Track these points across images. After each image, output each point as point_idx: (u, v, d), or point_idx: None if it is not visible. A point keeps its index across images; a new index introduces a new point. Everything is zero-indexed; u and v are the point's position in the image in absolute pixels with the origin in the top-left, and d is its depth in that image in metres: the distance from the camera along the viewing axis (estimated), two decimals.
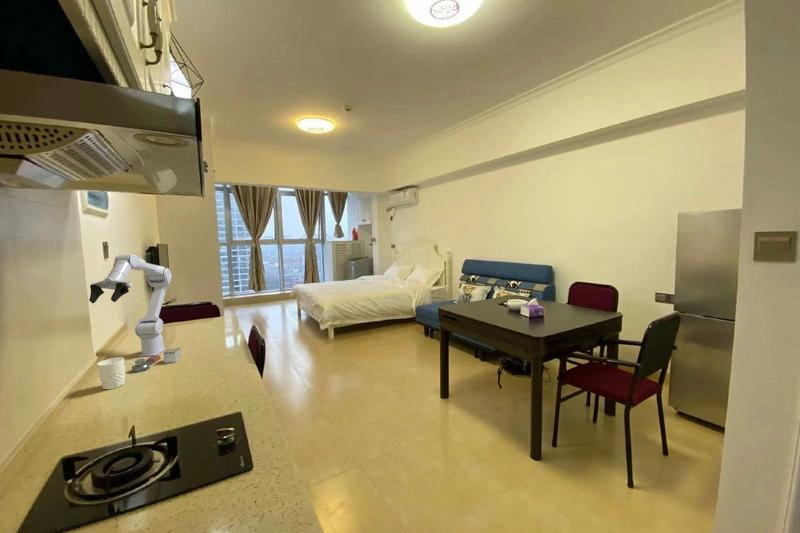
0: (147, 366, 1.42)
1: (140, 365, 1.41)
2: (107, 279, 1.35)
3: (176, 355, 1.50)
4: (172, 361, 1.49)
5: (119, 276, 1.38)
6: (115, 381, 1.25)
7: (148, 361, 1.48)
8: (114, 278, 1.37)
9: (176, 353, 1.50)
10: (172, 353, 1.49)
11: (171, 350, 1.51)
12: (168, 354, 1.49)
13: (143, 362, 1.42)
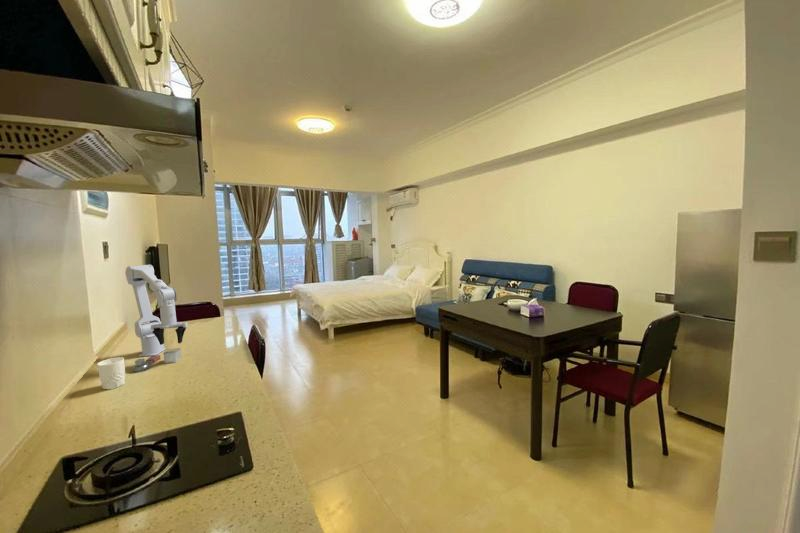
0: (147, 366, 1.42)
1: (140, 365, 1.41)
2: (165, 327, 1.46)
3: (176, 355, 1.50)
4: (172, 361, 1.49)
5: (172, 319, 1.48)
6: (115, 381, 1.25)
7: (148, 361, 1.48)
8: (169, 323, 1.48)
9: (176, 353, 1.50)
10: (172, 353, 1.49)
11: (171, 350, 1.51)
12: (168, 354, 1.49)
13: (143, 362, 1.42)
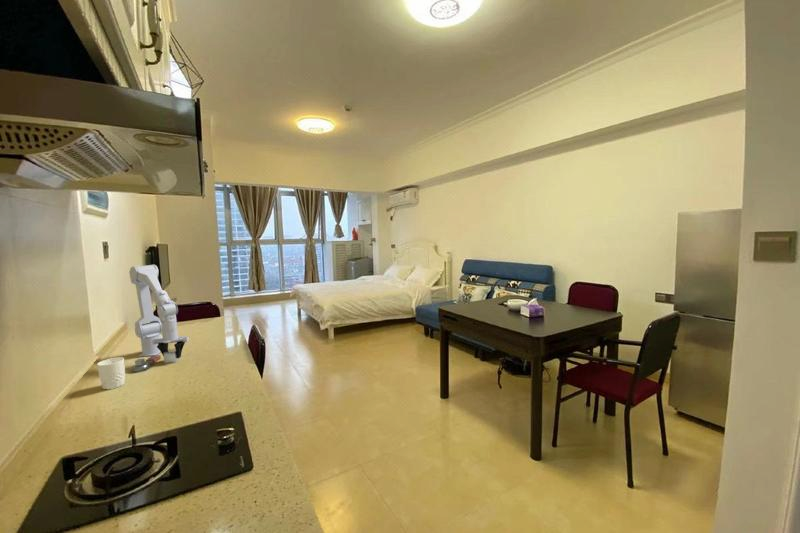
0: (147, 366, 1.42)
1: (140, 365, 1.41)
2: (166, 342, 1.47)
3: (176, 355, 1.50)
4: (172, 361, 1.49)
5: (173, 334, 1.49)
6: (115, 381, 1.25)
7: (148, 361, 1.48)
8: (171, 338, 1.48)
9: None
10: (172, 353, 1.49)
11: (171, 350, 1.51)
12: (168, 354, 1.49)
13: (143, 362, 1.42)
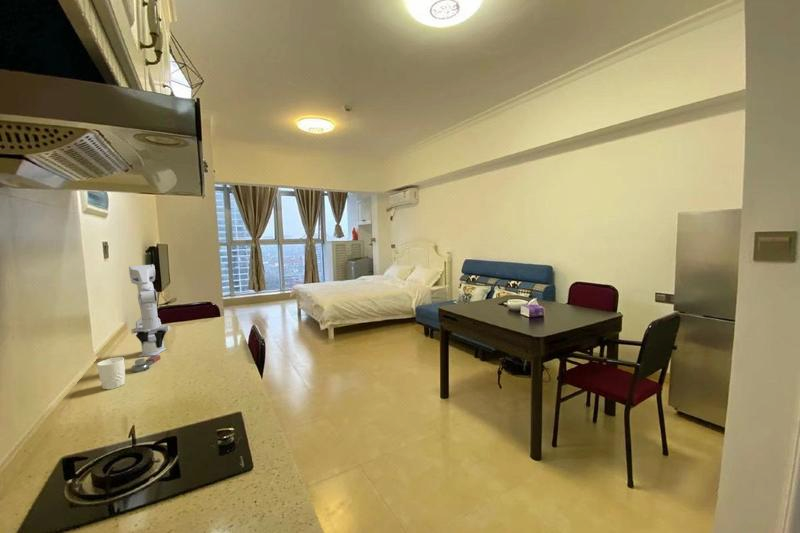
0: (147, 366, 1.42)
1: (140, 365, 1.41)
2: None
3: (156, 345, 1.44)
4: (152, 351, 1.43)
5: (153, 322, 1.43)
6: (115, 381, 1.25)
7: (148, 361, 1.48)
8: (151, 327, 1.42)
9: (156, 342, 1.44)
10: (152, 342, 1.43)
11: (151, 340, 1.44)
12: (148, 343, 1.43)
13: (143, 362, 1.42)
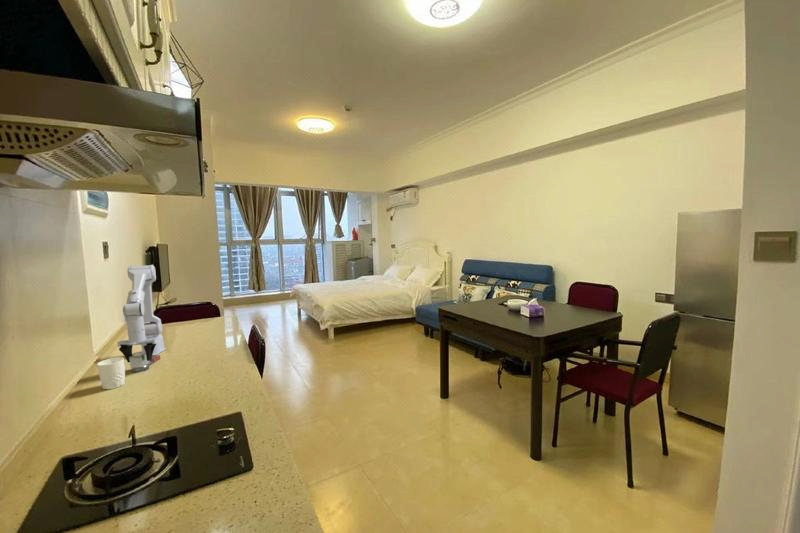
0: (147, 366, 1.42)
1: None
2: None
3: (143, 359, 1.41)
4: (139, 366, 1.40)
5: (140, 335, 1.39)
6: (115, 381, 1.25)
7: None
8: (137, 340, 1.39)
9: (143, 357, 1.41)
10: (138, 357, 1.40)
11: (138, 354, 1.41)
12: (134, 358, 1.39)
13: None
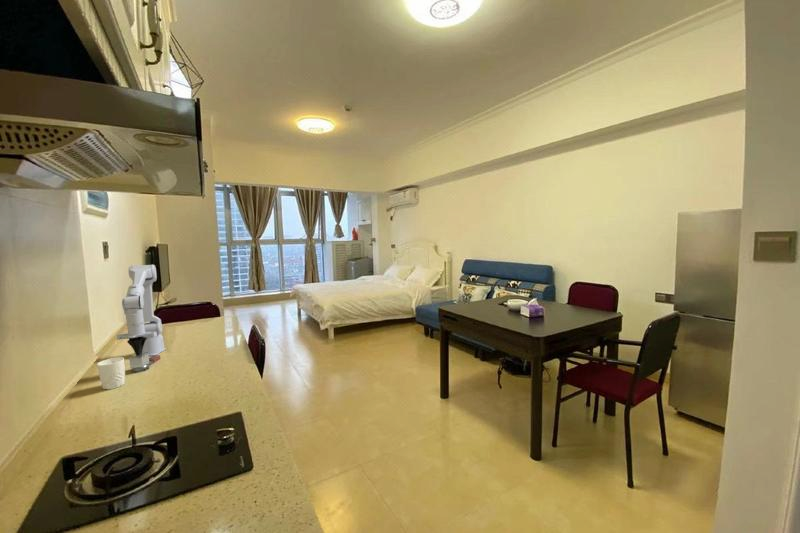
0: (147, 366, 1.42)
1: None
2: (131, 337, 1.37)
3: (143, 359, 1.41)
4: (138, 366, 1.40)
5: (139, 328, 1.39)
6: (115, 381, 1.25)
7: None
8: (136, 333, 1.38)
9: (143, 357, 1.41)
10: (138, 357, 1.39)
11: None
12: (134, 358, 1.39)
13: None
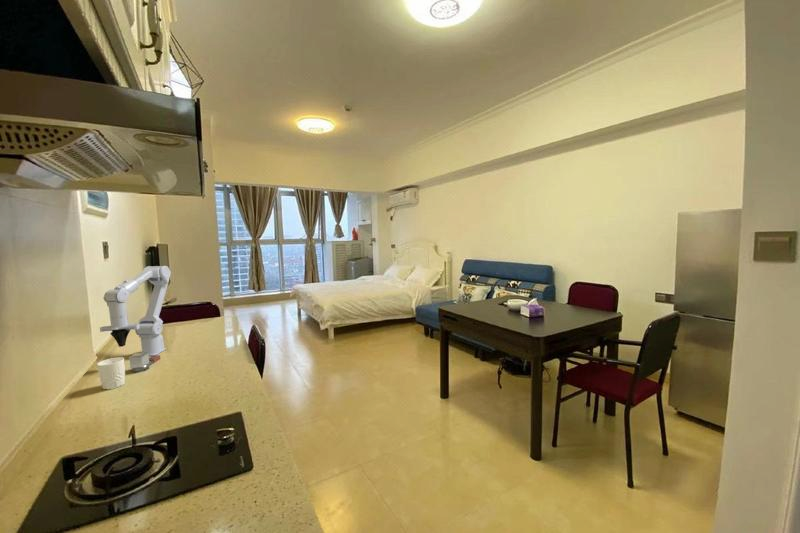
0: (147, 366, 1.42)
1: None
2: (114, 329, 1.41)
3: (143, 359, 1.41)
4: (138, 366, 1.40)
5: (122, 320, 1.43)
6: (115, 381, 1.25)
7: None
8: (119, 325, 1.43)
9: (143, 357, 1.41)
10: (138, 357, 1.39)
11: (138, 354, 1.41)
12: (134, 358, 1.39)
13: None
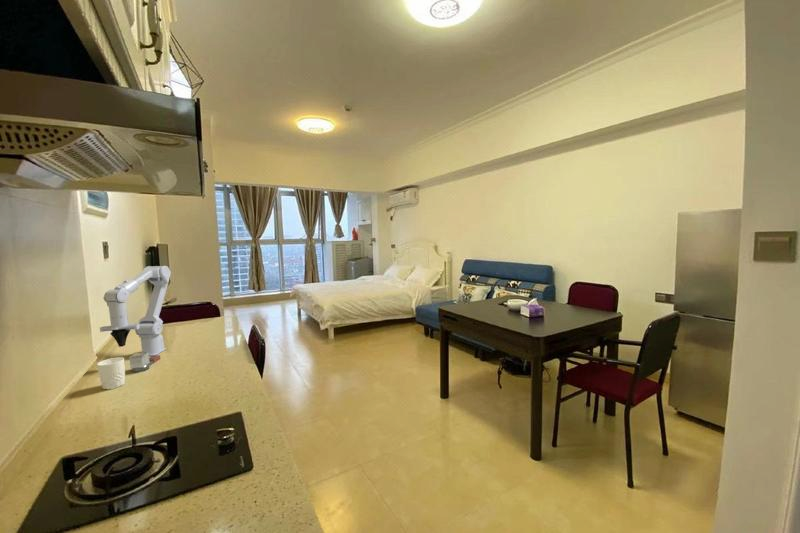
0: (147, 366, 1.42)
1: None
2: (114, 329, 1.41)
3: (143, 359, 1.41)
4: (139, 366, 1.40)
5: (122, 320, 1.43)
6: (115, 381, 1.25)
7: None
8: (119, 325, 1.43)
9: (143, 357, 1.41)
10: (138, 357, 1.39)
11: (138, 354, 1.41)
12: (134, 358, 1.39)
13: None
